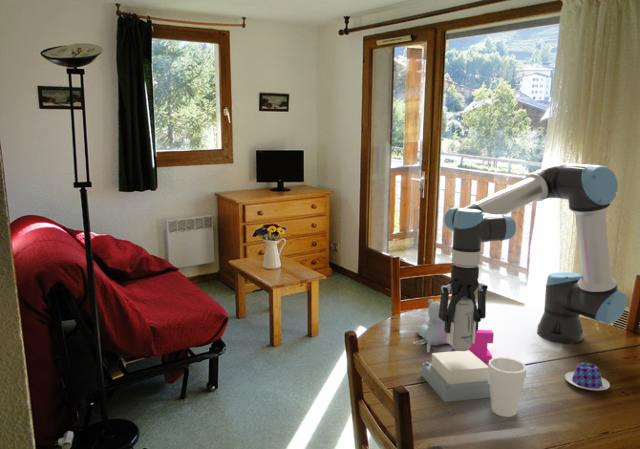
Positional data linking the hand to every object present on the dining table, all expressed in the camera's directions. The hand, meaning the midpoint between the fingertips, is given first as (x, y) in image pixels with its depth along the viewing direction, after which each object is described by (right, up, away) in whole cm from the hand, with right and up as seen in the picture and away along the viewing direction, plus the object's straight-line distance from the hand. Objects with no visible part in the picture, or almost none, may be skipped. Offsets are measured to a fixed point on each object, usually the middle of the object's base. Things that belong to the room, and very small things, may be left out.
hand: (460, 342), depth 149 cm
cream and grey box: (0, -13, +2) cm, 13 cm away
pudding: (+39, -14, +6) cm, 42 cm away
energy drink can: (0, -2, 0) cm, 2 cm away
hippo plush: (0, -8, +35) cm, 36 cm away
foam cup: (+9, -16, -11) cm, 21 cm away
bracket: (+10, -10, +24) cm, 28 cm away
